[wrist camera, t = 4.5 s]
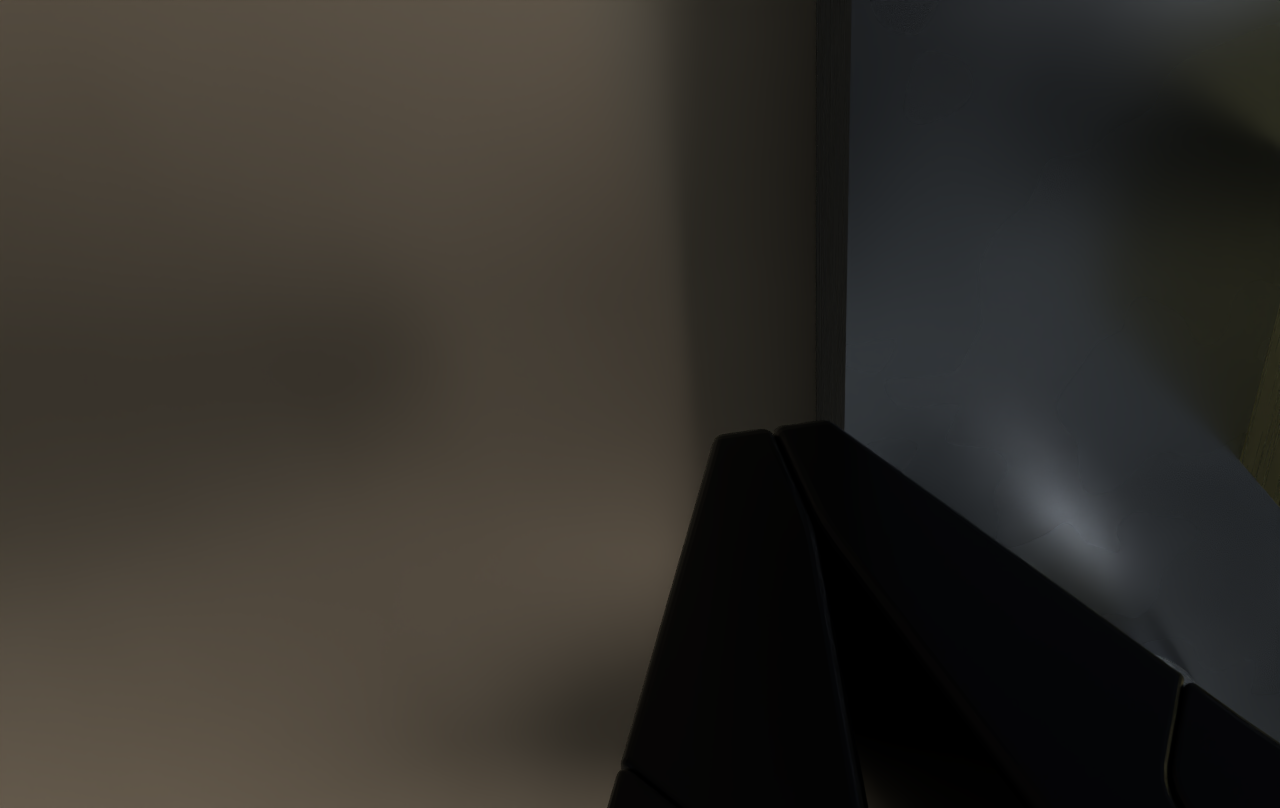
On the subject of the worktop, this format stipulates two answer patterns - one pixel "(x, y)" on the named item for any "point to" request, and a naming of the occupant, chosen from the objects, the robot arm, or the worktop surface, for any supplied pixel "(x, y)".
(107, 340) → the worktop surface
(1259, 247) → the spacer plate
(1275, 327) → the hex nut
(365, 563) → the worktop surface
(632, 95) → the worktop surface
